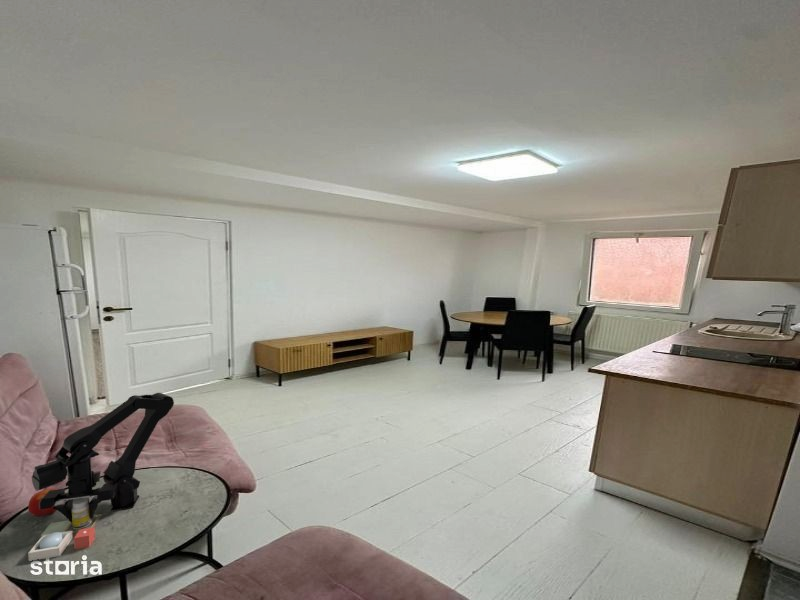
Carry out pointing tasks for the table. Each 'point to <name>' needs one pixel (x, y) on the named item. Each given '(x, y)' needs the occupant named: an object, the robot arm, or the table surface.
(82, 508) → the supplement bottle
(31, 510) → the apple
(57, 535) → the dome
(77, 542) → the red die
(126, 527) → the table surface
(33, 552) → the tray
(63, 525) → the pad
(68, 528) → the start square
